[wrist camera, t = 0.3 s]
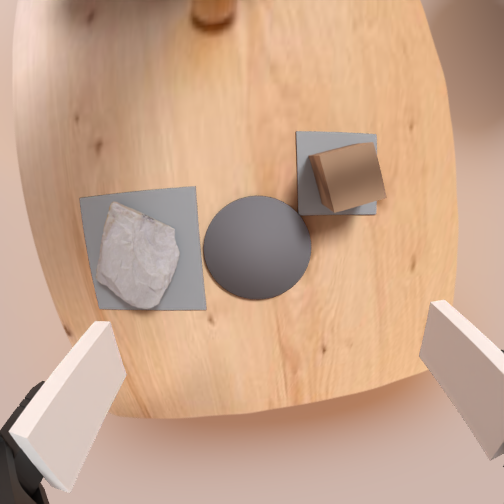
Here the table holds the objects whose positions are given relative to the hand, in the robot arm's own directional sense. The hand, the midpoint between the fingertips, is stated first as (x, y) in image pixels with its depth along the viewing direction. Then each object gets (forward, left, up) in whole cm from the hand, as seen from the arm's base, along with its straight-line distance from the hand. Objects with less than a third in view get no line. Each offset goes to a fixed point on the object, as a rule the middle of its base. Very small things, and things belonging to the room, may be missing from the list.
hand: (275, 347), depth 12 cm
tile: (-5, +10, -27) cm, 29 cm away
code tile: (+4, -15, -27) cm, 31 cm away
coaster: (+4, 0, -27) cm, 27 cm away
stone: (+4, -15, -27) cm, 31 cm away
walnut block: (-5, +10, -27) cm, 29 cm away
